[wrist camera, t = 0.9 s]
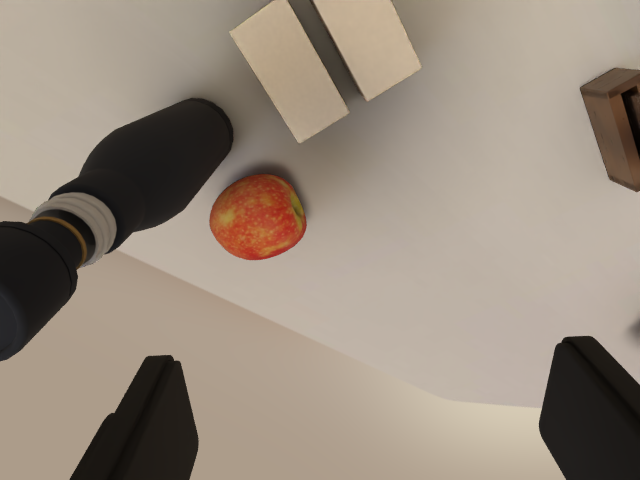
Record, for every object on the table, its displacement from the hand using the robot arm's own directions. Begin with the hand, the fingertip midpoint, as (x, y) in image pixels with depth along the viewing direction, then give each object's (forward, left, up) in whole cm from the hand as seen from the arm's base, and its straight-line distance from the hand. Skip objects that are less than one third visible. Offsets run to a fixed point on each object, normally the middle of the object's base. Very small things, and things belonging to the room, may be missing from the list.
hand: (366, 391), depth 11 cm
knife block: (+13, +24, -33) cm, 43 cm away
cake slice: (-7, +7, -33) cm, 34 cm away
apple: (+2, -9, -33) cm, 35 cm away
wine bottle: (-7, -10, -33) cm, 35 cm away
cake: (-7, 0, -33) cm, 34 cm away
